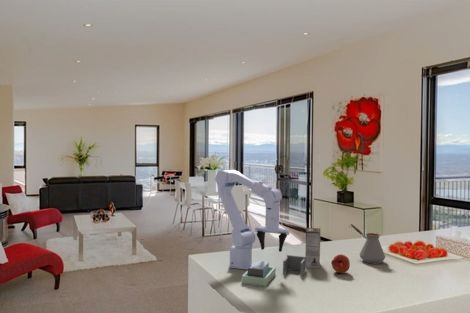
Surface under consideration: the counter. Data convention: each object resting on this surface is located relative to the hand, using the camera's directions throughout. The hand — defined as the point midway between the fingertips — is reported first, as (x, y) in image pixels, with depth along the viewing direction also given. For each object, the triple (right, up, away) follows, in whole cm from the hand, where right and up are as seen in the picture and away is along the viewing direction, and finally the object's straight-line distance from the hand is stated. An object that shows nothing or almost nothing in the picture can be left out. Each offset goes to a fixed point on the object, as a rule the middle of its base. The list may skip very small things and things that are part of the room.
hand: (271, 250), depth 173 cm
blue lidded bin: (-6, -10, -7) cm, 13 cm away
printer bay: (+10, -10, +2) cm, 14 cm away
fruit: (+30, -11, +3) cm, 32 cm away
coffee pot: (+47, -10, +25) cm, 55 cm away
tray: (-6, -10, -7) cm, 13 cm away
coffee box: (+20, -10, +14) cm, 26 cm away
